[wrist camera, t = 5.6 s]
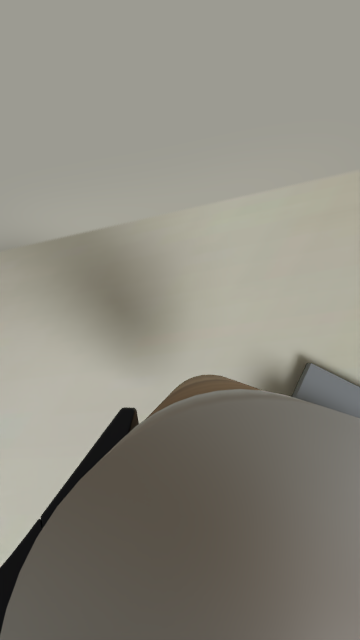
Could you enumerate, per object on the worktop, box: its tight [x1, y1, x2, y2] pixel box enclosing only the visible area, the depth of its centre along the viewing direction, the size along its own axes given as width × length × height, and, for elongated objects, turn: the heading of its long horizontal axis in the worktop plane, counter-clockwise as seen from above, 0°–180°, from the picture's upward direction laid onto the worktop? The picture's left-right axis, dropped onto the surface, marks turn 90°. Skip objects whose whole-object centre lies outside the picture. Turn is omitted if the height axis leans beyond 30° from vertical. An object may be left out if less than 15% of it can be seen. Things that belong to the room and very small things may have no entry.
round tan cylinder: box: [0, 375, 360, 640], centre depth 9 cm, size 5×5×13 cm
